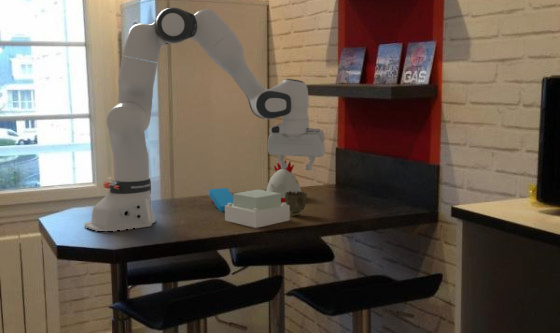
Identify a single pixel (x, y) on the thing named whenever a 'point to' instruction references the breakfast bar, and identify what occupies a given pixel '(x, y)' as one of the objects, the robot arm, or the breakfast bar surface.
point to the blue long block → (221, 198)
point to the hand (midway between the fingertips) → (296, 169)
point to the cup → (296, 202)
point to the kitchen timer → (283, 181)
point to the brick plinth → (257, 209)
